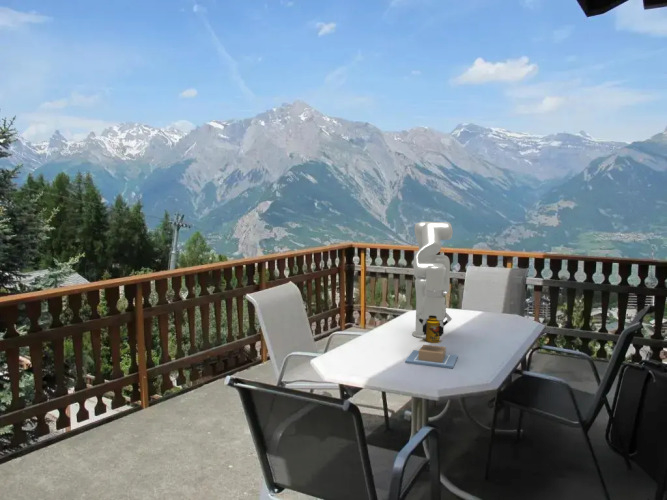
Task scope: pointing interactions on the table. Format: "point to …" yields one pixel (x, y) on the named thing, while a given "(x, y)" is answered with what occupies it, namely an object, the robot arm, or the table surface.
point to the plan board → (448, 365)
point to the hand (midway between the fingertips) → (432, 334)
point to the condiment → (432, 331)
